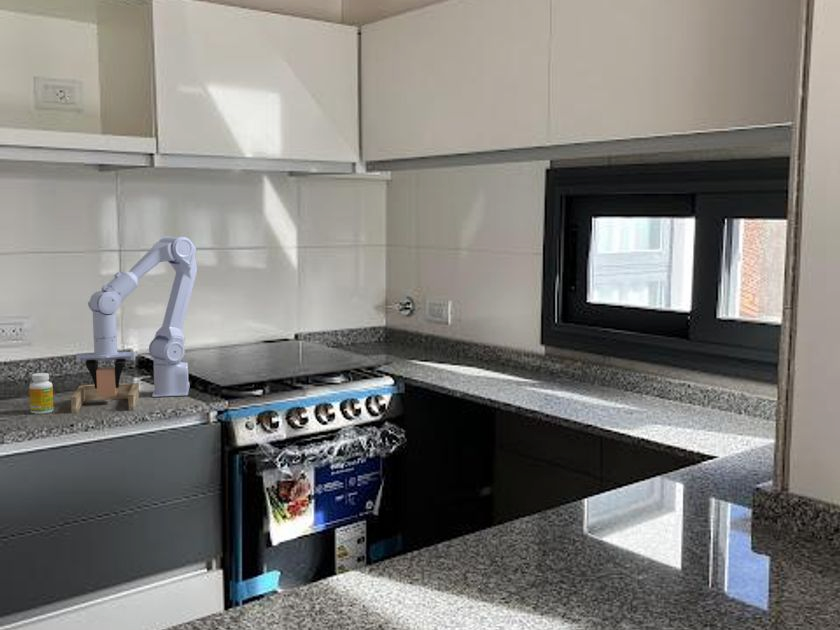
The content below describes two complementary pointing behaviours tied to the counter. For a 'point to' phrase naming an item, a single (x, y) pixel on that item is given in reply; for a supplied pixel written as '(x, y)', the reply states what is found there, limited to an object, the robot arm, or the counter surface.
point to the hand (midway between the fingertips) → (107, 387)
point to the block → (106, 382)
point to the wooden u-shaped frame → (90, 393)
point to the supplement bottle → (41, 394)
